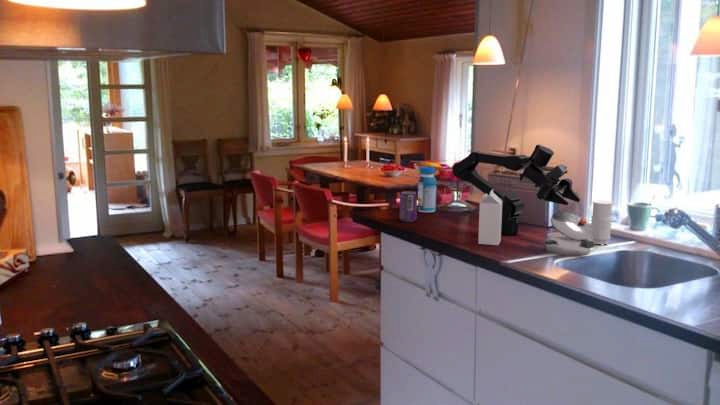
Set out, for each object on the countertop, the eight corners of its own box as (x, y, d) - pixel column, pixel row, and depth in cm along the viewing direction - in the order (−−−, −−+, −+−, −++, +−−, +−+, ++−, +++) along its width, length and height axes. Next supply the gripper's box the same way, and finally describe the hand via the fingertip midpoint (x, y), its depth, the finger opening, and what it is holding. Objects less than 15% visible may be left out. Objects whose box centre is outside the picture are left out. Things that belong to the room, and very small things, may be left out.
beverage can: (419, 220, 270) (420, 192, 268) (411, 223, 264) (412, 194, 262) (404, 218, 274) (405, 190, 272) (396, 221, 268) (396, 192, 266)
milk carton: (500, 241, 233) (503, 189, 229) (498, 245, 226) (500, 192, 223) (481, 239, 235) (483, 188, 232) (478, 244, 228) (480, 191, 225)
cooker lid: (542, 216, 219) (545, 210, 217) (572, 212, 226) (575, 206, 224) (570, 243, 209) (573, 237, 208) (600, 238, 216) (603, 232, 215)
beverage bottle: (430, 213, 285) (431, 168, 281) (413, 211, 289) (414, 167, 286) (439, 210, 292) (440, 166, 288) (422, 208, 296) (423, 165, 293)
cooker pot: (531, 249, 221) (532, 235, 220) (572, 243, 230) (573, 229, 229) (567, 260, 207) (568, 245, 206) (610, 253, 216) (611, 238, 216)
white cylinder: (585, 241, 232) (588, 201, 230) (600, 240, 235) (603, 199, 232) (598, 246, 226) (601, 204, 224) (614, 244, 229) (617, 203, 226)
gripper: (537, 161, 222) (573, 186, 215) (561, 157, 236) (597, 181, 228) (522, 187, 228) (557, 213, 220) (546, 181, 241) (580, 206, 233)
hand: (573, 202), depth 225 cm, fingers open, 9 cm apart
